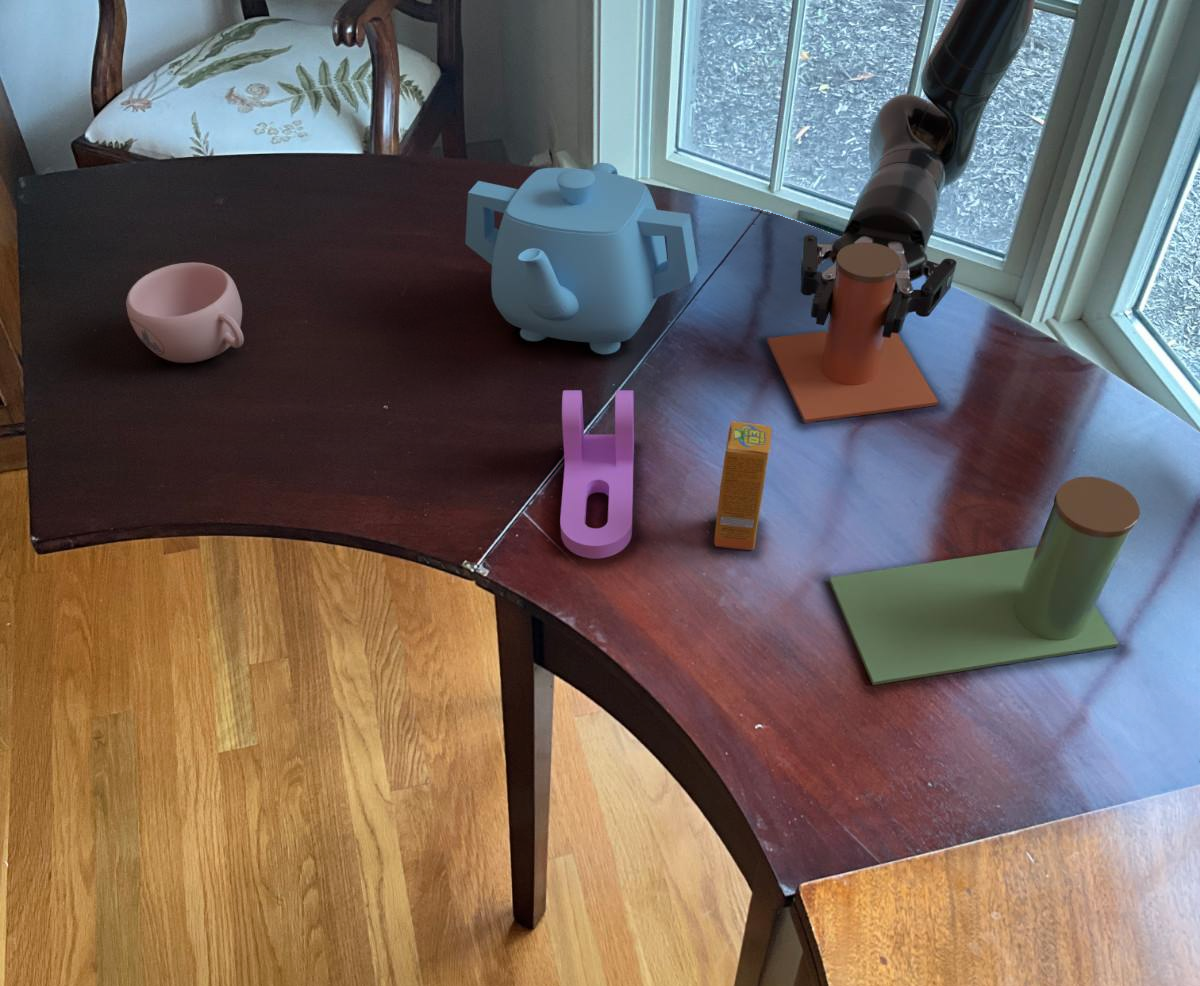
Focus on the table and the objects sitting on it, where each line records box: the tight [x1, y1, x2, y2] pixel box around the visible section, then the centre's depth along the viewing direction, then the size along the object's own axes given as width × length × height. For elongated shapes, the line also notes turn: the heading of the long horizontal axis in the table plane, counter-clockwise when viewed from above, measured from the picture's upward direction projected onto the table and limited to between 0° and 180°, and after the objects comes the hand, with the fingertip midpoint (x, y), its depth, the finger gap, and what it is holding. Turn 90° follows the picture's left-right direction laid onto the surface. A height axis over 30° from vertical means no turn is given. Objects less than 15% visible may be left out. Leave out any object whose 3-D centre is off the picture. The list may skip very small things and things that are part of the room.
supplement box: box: [713, 421, 773, 551], centre depth 83 cm, size 3×3×10 cm
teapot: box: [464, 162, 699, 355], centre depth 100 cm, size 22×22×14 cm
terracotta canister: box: [821, 242, 901, 385], centre depth 96 cm, size 5×5×11 cm
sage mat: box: [828, 546, 1119, 686], centre depth 81 cm, size 18×10×1 cm, turn 100°
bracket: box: [559, 389, 635, 559], centre depth 87 cm, size 13×6×7 cm, turn 178°
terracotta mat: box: [766, 330, 939, 424], centre depth 100 cm, size 12×12×1 cm
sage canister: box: [1015, 476, 1141, 640], centre depth 76 cm, size 5×5×11 cm
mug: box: [125, 261, 245, 364], centre depth 103 cm, size 12×10×6 cm
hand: (854, 321), depth 93 cm, fingers closed on terracotta canister, 5 cm apart
